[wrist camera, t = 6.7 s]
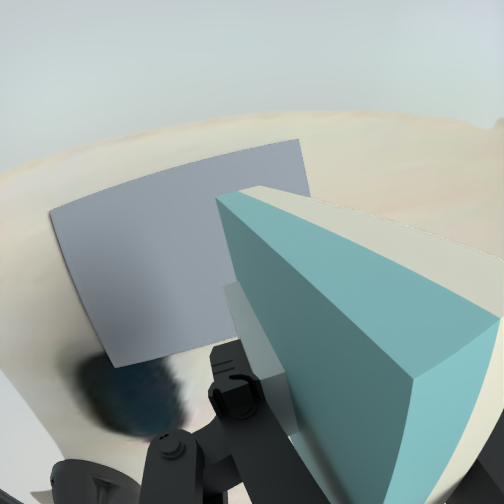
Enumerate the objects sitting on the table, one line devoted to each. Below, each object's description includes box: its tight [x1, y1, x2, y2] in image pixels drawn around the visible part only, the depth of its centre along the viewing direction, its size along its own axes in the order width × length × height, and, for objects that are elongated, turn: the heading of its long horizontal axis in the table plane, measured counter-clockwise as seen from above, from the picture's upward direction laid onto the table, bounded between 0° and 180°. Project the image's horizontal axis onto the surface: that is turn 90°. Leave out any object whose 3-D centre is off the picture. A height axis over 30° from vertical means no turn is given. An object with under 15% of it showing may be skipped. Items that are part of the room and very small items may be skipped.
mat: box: [49, 139, 311, 368], centre depth 25 cm, size 22×16×1 cm
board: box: [215, 185, 504, 504], centre depth 9 cm, size 2×10×12 cm, turn 13°
